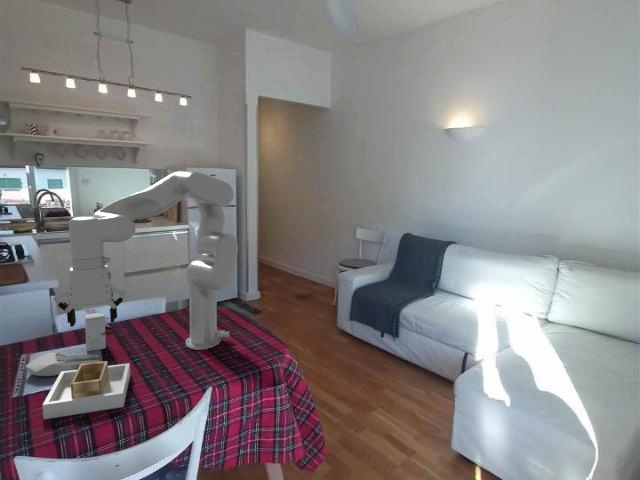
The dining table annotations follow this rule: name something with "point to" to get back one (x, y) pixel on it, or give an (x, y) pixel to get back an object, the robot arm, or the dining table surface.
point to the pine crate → (90, 380)
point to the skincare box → (95, 331)
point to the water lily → (96, 312)
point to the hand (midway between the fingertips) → (93, 322)
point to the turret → (57, 363)
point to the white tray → (64, 405)
